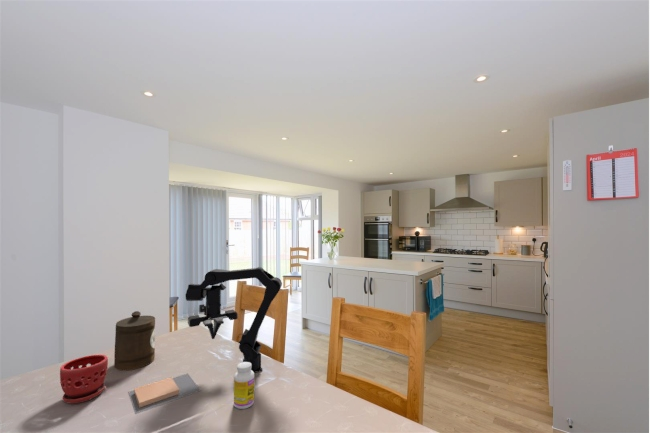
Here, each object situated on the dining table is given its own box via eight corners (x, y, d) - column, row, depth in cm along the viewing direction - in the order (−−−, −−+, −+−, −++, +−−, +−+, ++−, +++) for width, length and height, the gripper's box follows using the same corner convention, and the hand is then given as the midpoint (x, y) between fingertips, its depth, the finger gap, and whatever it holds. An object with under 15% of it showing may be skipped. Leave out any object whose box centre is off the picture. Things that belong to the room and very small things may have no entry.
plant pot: (116, 389, 108) (116, 355, 109) (75, 410, 96) (76, 373, 96) (91, 382, 113) (92, 351, 113) (49, 402, 100) (50, 366, 101)
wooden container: (161, 360, 131) (162, 310, 132) (124, 374, 119) (125, 319, 119) (144, 352, 139) (144, 305, 140) (107, 364, 127) (108, 313, 127)
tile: (171, 377, 112) (134, 388, 104) (179, 389, 104) (139, 402, 96) (171, 381, 112) (134, 393, 104) (179, 394, 104) (139, 408, 96)
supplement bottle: (248, 411, 96) (248, 370, 96) (229, 408, 97) (230, 368, 97) (257, 399, 102) (257, 361, 102) (239, 396, 103) (240, 359, 104)
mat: (187, 374, 118) (187, 373, 118) (201, 392, 106) (201, 390, 106) (128, 393, 105) (128, 391, 105) (135, 415, 93) (135, 413, 93)
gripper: (231, 293, 134) (230, 328, 134) (185, 299, 124) (185, 337, 124) (238, 299, 125) (237, 336, 125) (190, 305, 115) (189, 346, 114)
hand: (213, 338), depth 122 cm, fingers closed
